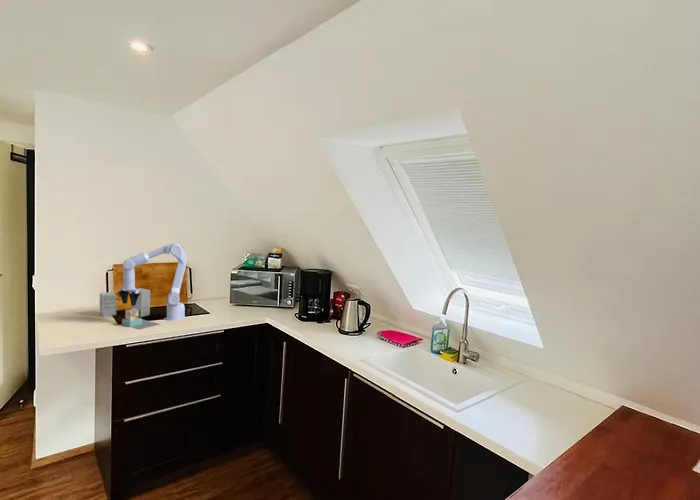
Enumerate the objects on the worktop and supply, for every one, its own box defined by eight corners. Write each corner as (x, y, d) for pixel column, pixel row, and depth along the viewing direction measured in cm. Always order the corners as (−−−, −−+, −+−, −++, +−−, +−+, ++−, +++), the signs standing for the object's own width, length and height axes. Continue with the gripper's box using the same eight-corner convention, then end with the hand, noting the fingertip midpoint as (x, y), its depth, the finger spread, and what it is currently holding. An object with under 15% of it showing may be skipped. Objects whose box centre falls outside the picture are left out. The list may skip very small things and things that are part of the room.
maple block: (133, 317, 233) (133, 308, 232) (138, 318, 231) (138, 310, 230) (125, 319, 229) (125, 310, 228) (130, 320, 227) (130, 311, 226)
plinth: (134, 322, 235) (134, 316, 234) (142, 324, 231) (142, 318, 231) (122, 324, 229) (122, 319, 228) (130, 327, 225) (130, 321, 225)
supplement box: (99, 314, 249) (99, 292, 248) (113, 312, 254) (113, 291, 253) (102, 316, 244) (102, 295, 242) (116, 315, 248) (116, 293, 247)
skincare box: (130, 315, 248) (130, 289, 247) (140, 313, 254) (140, 287, 253) (141, 317, 245) (141, 291, 244) (150, 315, 251) (150, 289, 250)
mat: (142, 319, 241) (142, 319, 241) (160, 324, 233) (160, 324, 233) (120, 325, 229) (120, 324, 229) (139, 330, 222) (139, 329, 222)
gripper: (114, 279, 234) (114, 303, 235) (130, 282, 227) (130, 307, 228) (126, 278, 240) (126, 301, 241) (142, 281, 233) (142, 305, 234)
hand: (129, 304), depth 235 cm, fingers open, 7 cm apart
